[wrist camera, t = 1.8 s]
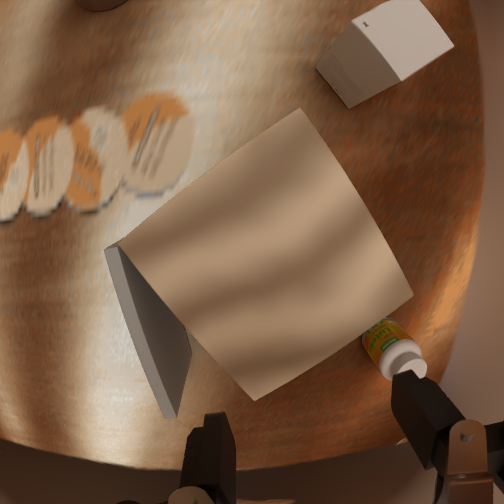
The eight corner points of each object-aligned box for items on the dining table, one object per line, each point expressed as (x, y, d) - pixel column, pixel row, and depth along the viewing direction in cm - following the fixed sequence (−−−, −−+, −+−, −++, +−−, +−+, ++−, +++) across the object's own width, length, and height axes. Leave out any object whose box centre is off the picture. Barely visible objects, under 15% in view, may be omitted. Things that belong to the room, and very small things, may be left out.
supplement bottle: (377, 309, 39) (411, 346, 29) (405, 325, 39) (440, 361, 30) (353, 343, 40) (380, 387, 30) (382, 357, 40) (411, 398, 31)
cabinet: (159, 218, 35) (117, 243, 22) (278, 131, 33) (299, 107, 21) (249, 332, 38) (254, 401, 26) (361, 256, 37) (413, 294, 24)
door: (136, 227, 35) (90, 252, 23) (156, 222, 34) (117, 246, 23) (173, 355, 38) (153, 419, 27) (192, 353, 38) (176, 417, 27)
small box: (348, 110, 33) (401, 83, 20) (313, 67, 32) (348, 19, 19) (395, 78, 32) (456, 46, 19) (362, 36, 31) (411, -11, 18)
